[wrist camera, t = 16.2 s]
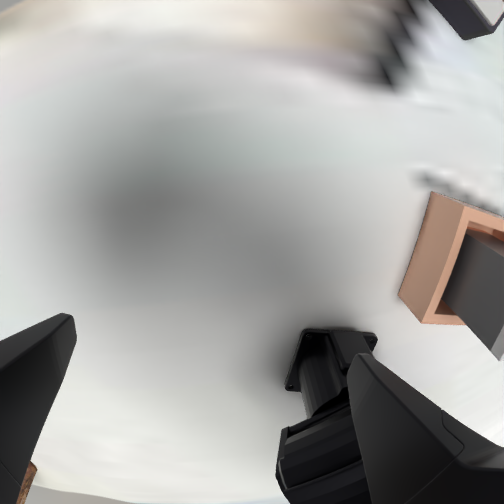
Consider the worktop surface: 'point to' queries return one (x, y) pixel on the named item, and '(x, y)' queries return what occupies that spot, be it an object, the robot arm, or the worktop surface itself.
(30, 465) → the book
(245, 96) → the worktop surface
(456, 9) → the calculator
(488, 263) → the grey square block
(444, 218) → the copper square tube
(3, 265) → the worktop surface
